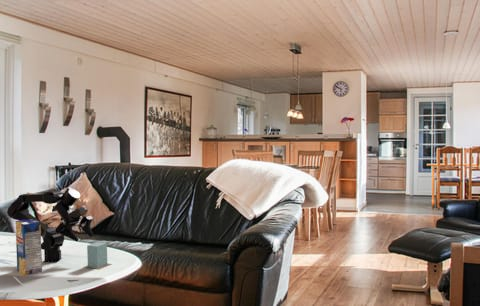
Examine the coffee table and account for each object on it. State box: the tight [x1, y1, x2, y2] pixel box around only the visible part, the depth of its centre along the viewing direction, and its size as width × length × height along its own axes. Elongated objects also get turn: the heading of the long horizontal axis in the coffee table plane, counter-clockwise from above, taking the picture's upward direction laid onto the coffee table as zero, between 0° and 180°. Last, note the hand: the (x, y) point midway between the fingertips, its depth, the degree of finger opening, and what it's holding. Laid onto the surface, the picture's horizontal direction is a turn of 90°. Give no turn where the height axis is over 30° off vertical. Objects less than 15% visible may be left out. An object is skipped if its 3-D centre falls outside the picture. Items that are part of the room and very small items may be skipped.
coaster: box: [83, 262, 113, 270], centre depth 216 cm, size 9×9×1 cm
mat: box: [67, 279, 79, 283], centre depth 201 cm, size 10×10×1 cm
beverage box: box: [14, 219, 43, 276], centre depth 209 cm, size 7×11×22 cm, turn 42°
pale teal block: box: [86, 241, 108, 268], centre depth 216 cm, size 6×6×10 cm
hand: (85, 238), depth 218 cm, fingers open, 9 cm apart
